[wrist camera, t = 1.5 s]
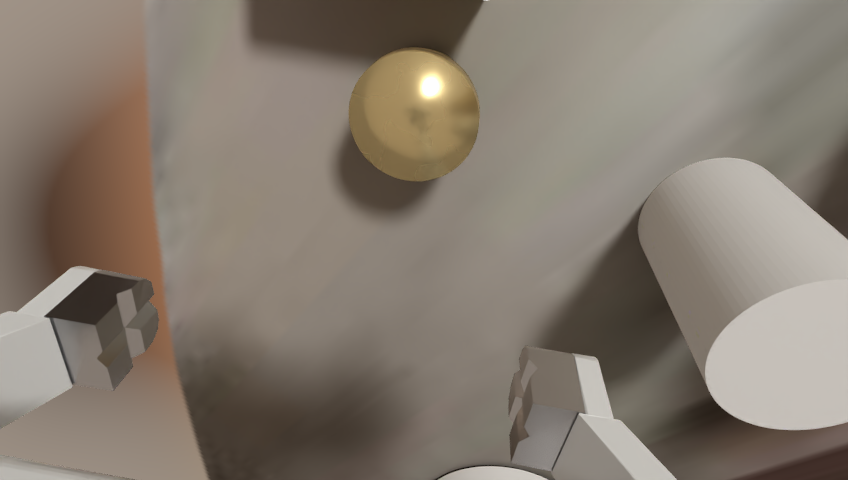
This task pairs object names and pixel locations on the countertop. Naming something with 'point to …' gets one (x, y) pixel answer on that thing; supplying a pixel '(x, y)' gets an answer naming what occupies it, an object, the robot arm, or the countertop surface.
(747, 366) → the white cylinder
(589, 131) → the countertop surface
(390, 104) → the brass dome knob
